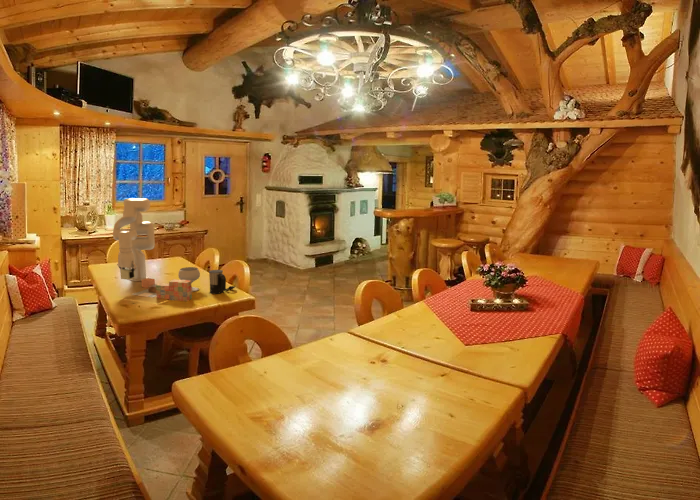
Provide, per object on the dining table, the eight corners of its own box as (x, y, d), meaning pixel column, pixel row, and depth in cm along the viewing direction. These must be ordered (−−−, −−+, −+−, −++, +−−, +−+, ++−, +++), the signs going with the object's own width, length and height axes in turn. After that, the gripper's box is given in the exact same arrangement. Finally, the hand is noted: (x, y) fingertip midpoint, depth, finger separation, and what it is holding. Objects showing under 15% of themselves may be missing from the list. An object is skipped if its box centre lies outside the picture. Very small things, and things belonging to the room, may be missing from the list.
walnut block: (148, 292, 329) (148, 286, 329) (154, 289, 335) (154, 284, 334) (155, 293, 327) (155, 287, 327) (162, 290, 333) (161, 285, 332)
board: (130, 295, 323) (130, 294, 322) (149, 289, 338) (148, 288, 338) (152, 298, 317) (152, 297, 316) (170, 292, 332) (170, 291, 332)
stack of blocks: (156, 299, 316) (155, 280, 314) (161, 296, 322) (160, 278, 320) (187, 301, 313) (186, 282, 311) (192, 298, 319) (191, 280, 317)
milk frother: (206, 293, 332) (205, 271, 329) (221, 287, 347) (220, 267, 344) (224, 295, 327) (223, 273, 324) (238, 290, 341) (237, 269, 338)
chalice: (189, 286, 348) (188, 265, 345) (204, 289, 342) (204, 268, 339) (174, 291, 335) (173, 269, 332) (190, 294, 329) (189, 272, 326)
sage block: (120, 278, 323) (120, 269, 322) (127, 276, 329) (127, 267, 328) (128, 279, 321) (127, 270, 320) (135, 277, 327) (134, 268, 326)
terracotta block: (142, 288, 341) (141, 280, 340) (148, 286, 347) (147, 278, 346) (148, 289, 339) (148, 280, 338) (155, 287, 345) (154, 278, 344)
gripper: (111, 249, 321) (113, 276, 324) (132, 252, 315) (133, 279, 318) (120, 247, 327) (122, 274, 331) (140, 250, 322) (142, 277, 325)
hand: (127, 276), depth 325 cm, fingers closed on sage block, 6 cm apart
